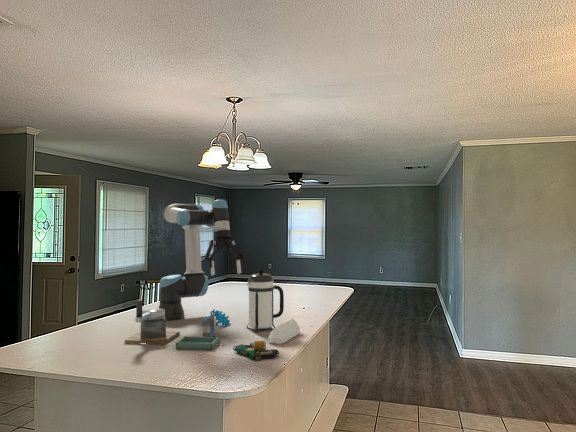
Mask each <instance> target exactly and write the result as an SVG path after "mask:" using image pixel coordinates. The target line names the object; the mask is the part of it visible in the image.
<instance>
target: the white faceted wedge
mask: <svg viewBox="0 0 576 432" xmlns="http://www.w3.org/2000/svg"><path fill="white" fill-rule="evenodd" d="M300 330H301V329H300V325H299V323H298V322H297V321H296V320H295V319H294V318H291V319H289V320H287V321H285V322H283V323H281V324H279V325H278V326H275V328H274V327H273V330H272V329H271V331H270V334H269V335H268V339H267V342H268V343H269V344H276V345H282V344H285V343H286V342H288V341H289V340H291V339H293V338H294V337H296V336H297V335H299V334H300V333H301V332H300Z"/></svg>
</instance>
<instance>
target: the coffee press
mask: <svg viewBox="0 0 576 432" xmlns="http://www.w3.org/2000/svg"><path fill="white" fill-rule="evenodd" d="M258 272H259V273H253V274H251V275H250V276H249V277H248V280H247V283H246V286H247V289H248V323H247V325H246V329H248V330H249V329H250V328H253V329H254V333H259V330H262V329H268V328H269V329H271V331H272V330H273V329H274V328H276V326H275V325H274V319H276V318H277V319H278V318H280V317H281V316H282V314H283V312H284V308H285V303H284V301H285V299H284V290H283V288H282V287H281V286H279V285H274V282H275V278H274V277H273V275H272V274H269V273H264V269H263V268H259V269H258ZM274 290H278V292H279V311H278V312H277V313H274Z"/></svg>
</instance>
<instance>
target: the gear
mask: <svg viewBox="0 0 576 432" xmlns="http://www.w3.org/2000/svg"><path fill="white" fill-rule="evenodd" d="M229 318H230V315H226V313H225V312H223V311H222V310H220V311H219V310H215V312H214V320H215V321H216V322H215V323H214V326H218V325H220V324H221V325H222V326H223V327H224V326H225V327H228V326H229V325H230V324H231V323H230V322H231V320H230V319H229Z"/></svg>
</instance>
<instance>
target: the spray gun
mask: <svg viewBox="0 0 576 432" xmlns="http://www.w3.org/2000/svg"><path fill="white" fill-rule="evenodd" d="M266 343H267V342H266V341H265V340H254V341H252V342H250V343H249V344H242V343H241V344H238V345H235V346H233V351H234V352H237V353H238V354H242V356H243V355H244V356H246V357H247V358H249V359H250V360H251V361H262V360H265V359H274V358H275V357H276V356H277V355H280V352H279V350H278V349H273V348H272V349H267V344H266Z"/></svg>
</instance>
